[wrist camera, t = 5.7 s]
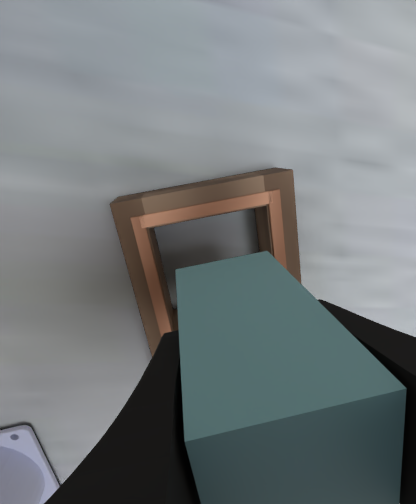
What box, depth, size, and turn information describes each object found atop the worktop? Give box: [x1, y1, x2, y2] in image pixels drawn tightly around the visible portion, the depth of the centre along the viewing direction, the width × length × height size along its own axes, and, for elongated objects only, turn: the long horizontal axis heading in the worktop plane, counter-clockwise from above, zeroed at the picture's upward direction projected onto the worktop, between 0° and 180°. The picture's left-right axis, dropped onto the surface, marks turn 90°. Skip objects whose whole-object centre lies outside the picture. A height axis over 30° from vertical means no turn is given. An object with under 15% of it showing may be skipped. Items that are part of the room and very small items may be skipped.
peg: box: [175, 251, 407, 504], centre depth 10 cm, size 4×4×8 cm
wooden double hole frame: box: [110, 168, 301, 357], centre depth 19 cm, size 9×20×3 cm, turn 10°
